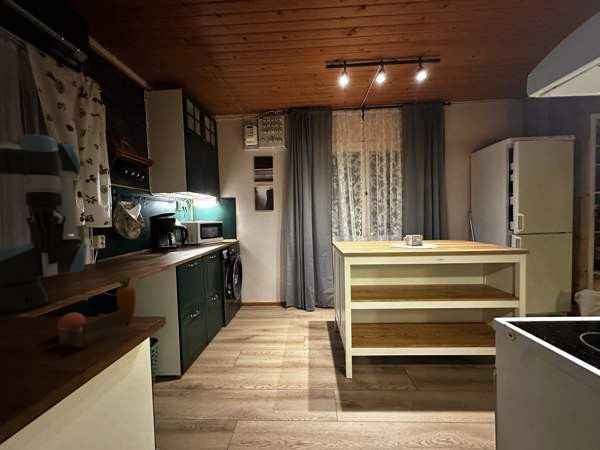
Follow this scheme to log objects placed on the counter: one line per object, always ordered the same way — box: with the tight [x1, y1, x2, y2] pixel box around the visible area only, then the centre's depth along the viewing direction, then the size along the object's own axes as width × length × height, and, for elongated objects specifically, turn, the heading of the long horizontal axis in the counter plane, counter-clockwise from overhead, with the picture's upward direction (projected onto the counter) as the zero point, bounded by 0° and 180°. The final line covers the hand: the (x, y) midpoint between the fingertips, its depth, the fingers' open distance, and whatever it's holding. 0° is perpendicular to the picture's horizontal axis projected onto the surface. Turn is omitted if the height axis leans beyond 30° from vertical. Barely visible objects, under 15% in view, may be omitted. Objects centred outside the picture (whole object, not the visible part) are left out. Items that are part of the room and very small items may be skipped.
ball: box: [57, 312, 87, 332], centre depth 77 cm, size 6×6×6 cm
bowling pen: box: [58, 309, 127, 349], centre depth 74 cm, size 10×11×6 cm
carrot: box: [115, 274, 137, 325], centre depth 82 cm, size 5×5×15 cm
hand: (50, 275), depth 79 cm, fingers closed
